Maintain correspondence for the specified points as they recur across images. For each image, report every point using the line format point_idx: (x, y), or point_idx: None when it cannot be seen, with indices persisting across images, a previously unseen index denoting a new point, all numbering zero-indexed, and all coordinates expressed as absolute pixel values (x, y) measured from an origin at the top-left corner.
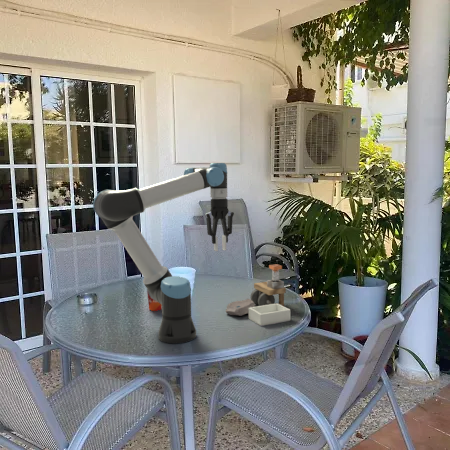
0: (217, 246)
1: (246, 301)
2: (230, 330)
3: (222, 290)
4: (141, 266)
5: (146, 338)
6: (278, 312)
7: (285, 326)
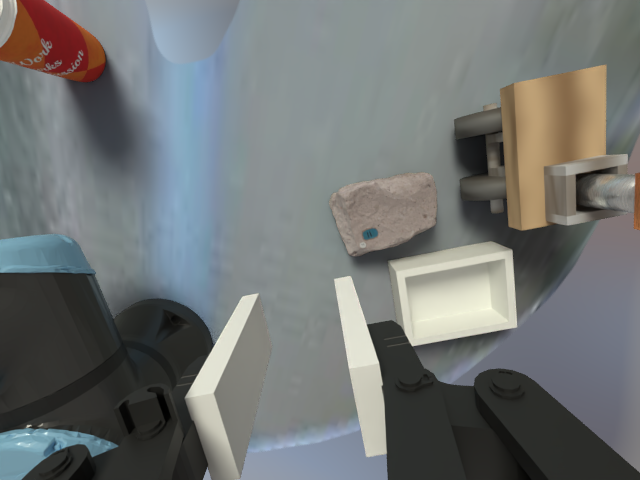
0: (262, 375)
1: (413, 204)
2: (309, 337)
3: None
4: None
5: None
6: (471, 334)
7: (461, 347)
